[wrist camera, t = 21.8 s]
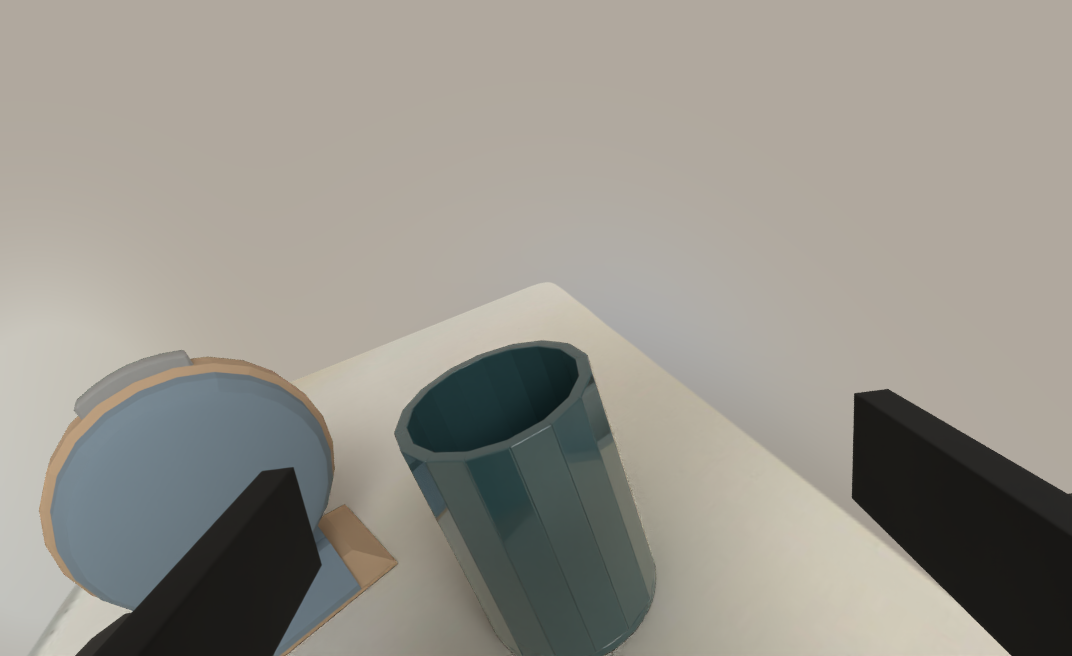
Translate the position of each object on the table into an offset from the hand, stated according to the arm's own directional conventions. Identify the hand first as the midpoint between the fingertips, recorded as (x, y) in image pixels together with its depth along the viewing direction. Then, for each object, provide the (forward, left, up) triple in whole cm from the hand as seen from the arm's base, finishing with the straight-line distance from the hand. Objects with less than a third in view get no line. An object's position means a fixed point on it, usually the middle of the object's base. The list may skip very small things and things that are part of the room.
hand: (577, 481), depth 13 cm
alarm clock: (+27, +5, -16) cm, 32 cm away
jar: (+10, -5, -15) cm, 19 cm away
